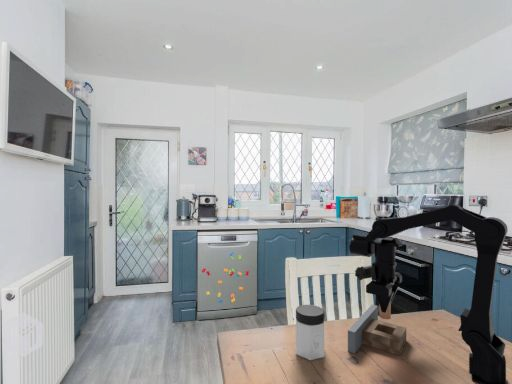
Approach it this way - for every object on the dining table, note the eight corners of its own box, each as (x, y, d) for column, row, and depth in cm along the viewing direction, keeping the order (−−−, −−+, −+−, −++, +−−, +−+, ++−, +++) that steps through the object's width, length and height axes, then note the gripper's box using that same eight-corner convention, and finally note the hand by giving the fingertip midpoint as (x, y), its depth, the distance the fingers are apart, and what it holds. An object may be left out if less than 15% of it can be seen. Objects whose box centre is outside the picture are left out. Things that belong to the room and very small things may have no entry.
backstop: (377, 323, 98) (377, 306, 98) (354, 353, 79) (354, 332, 79) (371, 321, 99) (371, 304, 99) (347, 351, 80) (347, 330, 80)
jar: (303, 362, 75) (303, 318, 75) (289, 347, 82) (289, 306, 83) (331, 356, 78) (331, 313, 78) (316, 342, 85) (315, 302, 86)
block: (406, 340, 86) (406, 327, 86) (399, 355, 78) (399, 341, 78) (372, 330, 92) (372, 318, 92) (363, 343, 85) (363, 330, 85)
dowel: (391, 316, 86) (391, 293, 86) (389, 320, 83) (389, 296, 83) (380, 313, 88) (380, 291, 88) (378, 317, 85) (377, 294, 85)
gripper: (367, 251, 98) (367, 295, 98) (348, 261, 83) (348, 313, 83) (402, 255, 91) (402, 303, 91) (388, 267, 76) (388, 324, 76)
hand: (385, 310), depth 85 cm, fingers closed on dowel, 3 cm apart
